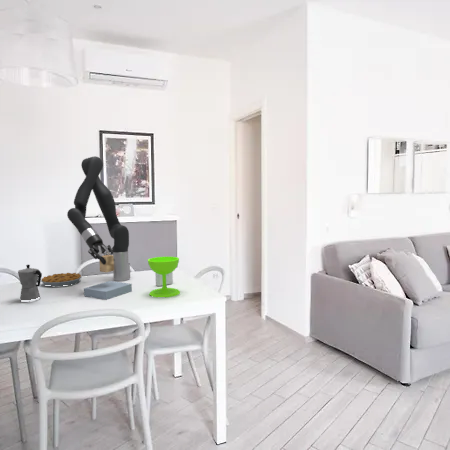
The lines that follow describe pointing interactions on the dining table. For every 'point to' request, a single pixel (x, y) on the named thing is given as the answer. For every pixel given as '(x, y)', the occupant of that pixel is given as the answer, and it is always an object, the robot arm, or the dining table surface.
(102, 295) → the block
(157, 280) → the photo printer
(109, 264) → the oak block
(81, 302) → the dining table surface
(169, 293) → the wineglass
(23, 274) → the coffeepot
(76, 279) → the pie
